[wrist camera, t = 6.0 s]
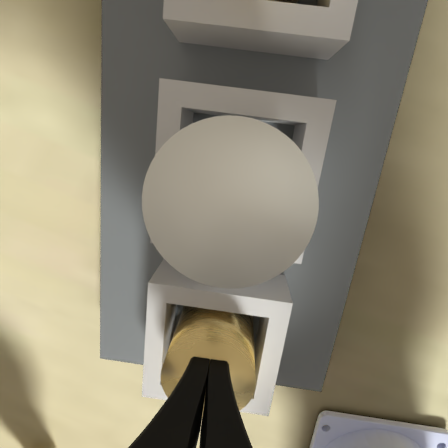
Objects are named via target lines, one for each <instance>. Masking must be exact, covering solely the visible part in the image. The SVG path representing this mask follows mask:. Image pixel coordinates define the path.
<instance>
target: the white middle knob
mask: <svg viewBox="0 0 448 448" xmlns="http://www.w3.org/2000/svg"><path fill="white" fill-rule="evenodd" d="M318 211H319V196H318V187H317V183H316V180H315V176H314V173H313V171H312V168H311V166H310V164H309V162H308V160H307V159H306V157H305V155H304V154H303V153H302V151H301V150H300V149H299V148H298V146H297V145H296V144H295V143H294V142H293V141H292V140H291V139H290V138H289V137H288V136H286V135H285V134H284V133H282V132H281V131H279V130H278V129H277V128H275V127H273V126H271V125H269V124H267V123H265V122H262V121H259V120H256V119H253V118H248V117H243V116H231V115H226V116H215V117H211V118H206V119H203V120H200V121H197V122H195V123H192V124H190V125H188V126H186V127H185V128H183V129H181V130H180V131H178V132H177V133H176V134H174V135H173V136H172V137H171V138H170V139H169V140H168V141H167V142H166V143H164V144H163V146H162V147H161V148H160V150H159V151H158V152H157V153H156V155H155V157H154V158H153V160H152V162H151V164H150V166H149V168H148V171H147V173H146V176H145V180H144V184H143V191H142V212H143V218H144V222H145V226H146V229H147V232H148V234H149V236H150V239H151V241H152V242H153V244H154V246H155V247H156V249H157V250H158V252H159V253H160V254H161V256H162V257H163V258H164V259H165V260H166V261H167V262H168V263H169V264H170V265H171V266H172V267H173V268H175V269H176V270H177V271H178V272H180V273H181V274H183V275H185V276H186V277H188V278H190V279H192V280H194V281H196V282H199V283H202V284H205V285H208V286H213V287H217V288H228V289H231V288H244V287H250V286H254V285H258V284H261V283H263V282H266V281H268V280H271V279H272V278H274V277H276V276H278V275H279V274H281V273H282V272H284V271H285V270H286V269H288V268H289V267H290V266H291V265H292V264H293V263H294V262H295V261H296V260H297V259H298V258H299V257H300V255H301V254H302V253H303V252H304V250H305V248H306V247H307V245H308V243H309V242H310V239H311V237H312V235H313V233H314V230H315V226H316V223H317V218H318Z"/></svg>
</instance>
